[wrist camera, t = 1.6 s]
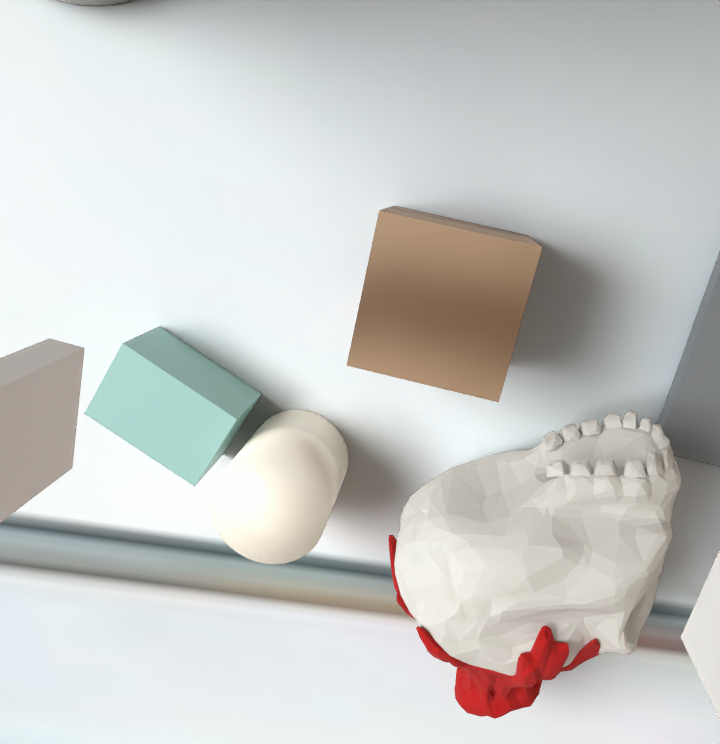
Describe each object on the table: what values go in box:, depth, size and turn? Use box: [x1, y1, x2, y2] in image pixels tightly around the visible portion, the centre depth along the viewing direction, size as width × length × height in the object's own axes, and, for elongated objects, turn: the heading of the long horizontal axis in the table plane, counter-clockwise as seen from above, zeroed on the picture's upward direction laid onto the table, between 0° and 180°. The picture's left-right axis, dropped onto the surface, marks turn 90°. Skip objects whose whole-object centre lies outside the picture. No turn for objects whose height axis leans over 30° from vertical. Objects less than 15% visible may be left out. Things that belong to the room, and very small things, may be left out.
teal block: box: [85, 326, 261, 486], centre depth 32 cm, size 4×6×4 cm, turn 57°
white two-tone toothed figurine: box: [389, 410, 681, 718], centre depth 30 cm, size 9×11×15 cm
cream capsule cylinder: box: [210, 409, 349, 564], centre depth 31 cm, size 5×5×6 cm
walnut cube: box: [347, 206, 542, 402], centre depth 28 cm, size 6×6×6 cm
